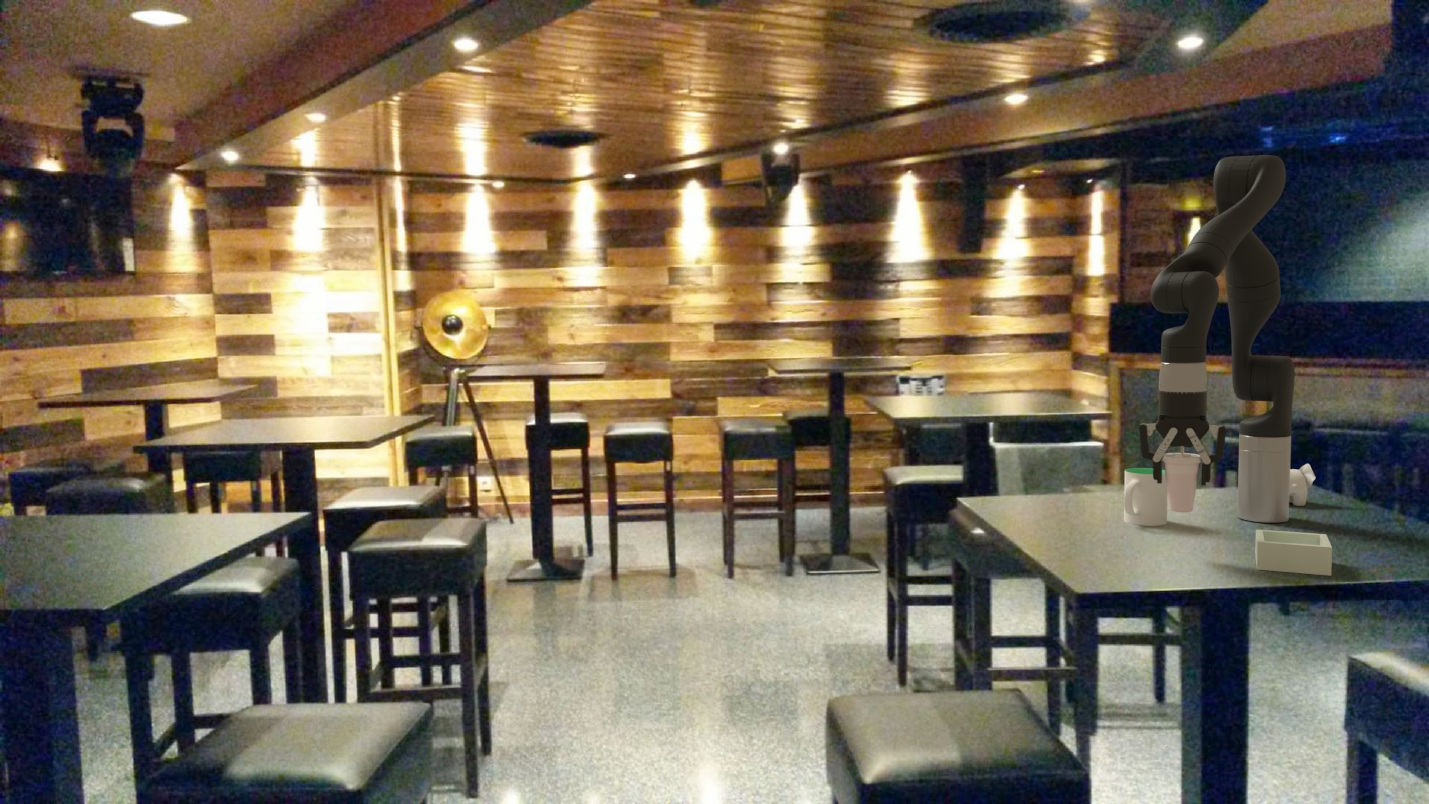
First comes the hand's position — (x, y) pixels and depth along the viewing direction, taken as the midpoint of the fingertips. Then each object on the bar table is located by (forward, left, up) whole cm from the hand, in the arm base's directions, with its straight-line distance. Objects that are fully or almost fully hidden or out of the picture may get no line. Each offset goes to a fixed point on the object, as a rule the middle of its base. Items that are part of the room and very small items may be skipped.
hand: (1181, 483), depth 176 cm
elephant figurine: (-61, +19, -13) cm, 65 cm away
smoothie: (0, 0, -5) cm, 5 cm away
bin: (0, +17, -13) cm, 21 cm away
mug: (-27, -8, -13) cm, 31 cm away
